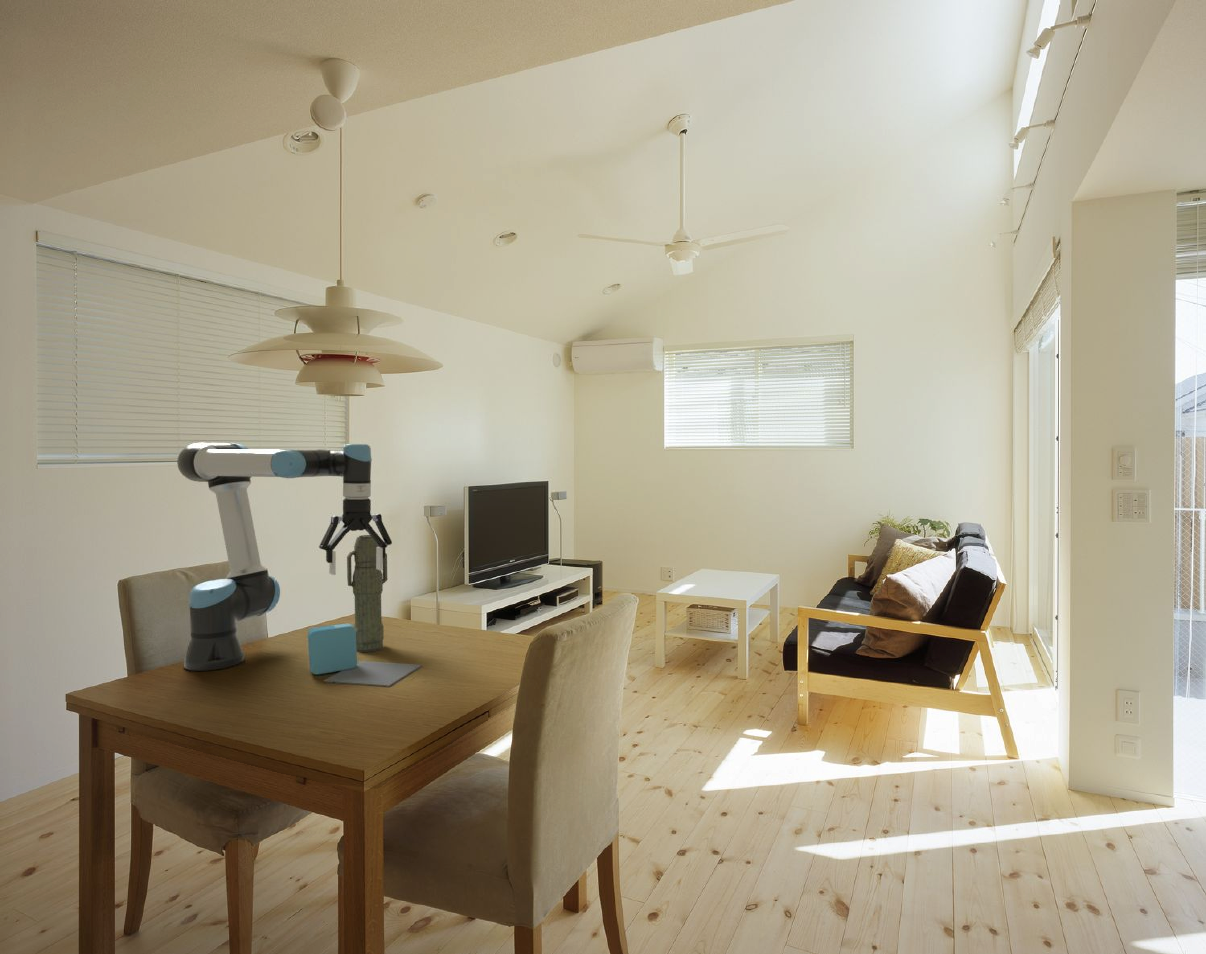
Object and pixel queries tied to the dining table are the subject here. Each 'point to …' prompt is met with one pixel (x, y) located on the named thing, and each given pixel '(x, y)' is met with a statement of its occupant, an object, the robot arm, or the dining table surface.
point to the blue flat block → (332, 648)
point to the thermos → (367, 593)
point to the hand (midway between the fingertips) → (356, 571)
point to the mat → (374, 673)
